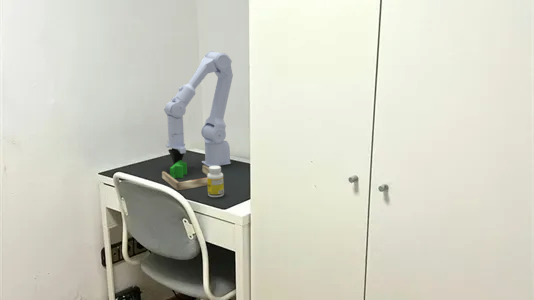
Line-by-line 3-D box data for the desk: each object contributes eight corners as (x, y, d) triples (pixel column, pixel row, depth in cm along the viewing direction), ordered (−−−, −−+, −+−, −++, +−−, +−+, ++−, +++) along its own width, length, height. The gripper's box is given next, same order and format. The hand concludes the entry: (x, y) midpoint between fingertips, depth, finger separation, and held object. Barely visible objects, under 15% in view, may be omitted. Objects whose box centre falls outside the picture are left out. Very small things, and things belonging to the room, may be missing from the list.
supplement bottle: (207, 192, 196) (207, 165, 194) (223, 192, 197) (223, 164, 194) (207, 198, 191) (206, 169, 189) (224, 197, 192) (223, 169, 189)
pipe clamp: (180, 180, 210) (179, 168, 209) (170, 180, 211) (169, 168, 209) (189, 171, 220) (189, 160, 219) (180, 171, 221) (179, 159, 220)
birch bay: (205, 171, 220) (204, 164, 220) (222, 182, 207) (222, 175, 206) (162, 178, 212) (161, 171, 212) (177, 190, 199) (177, 183, 198)
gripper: (159, 130, 223) (161, 164, 226) (172, 138, 210) (174, 173, 214) (176, 128, 226) (178, 161, 229) (190, 135, 214) (192, 170, 217)
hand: (177, 167), depth 222 cm, fingers closed
